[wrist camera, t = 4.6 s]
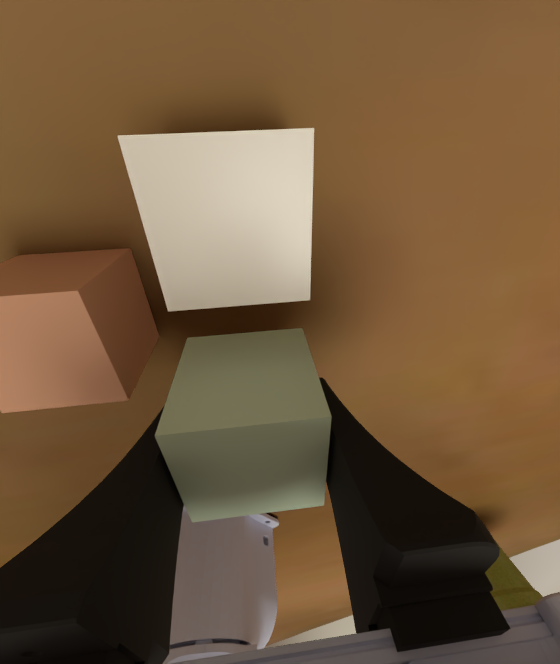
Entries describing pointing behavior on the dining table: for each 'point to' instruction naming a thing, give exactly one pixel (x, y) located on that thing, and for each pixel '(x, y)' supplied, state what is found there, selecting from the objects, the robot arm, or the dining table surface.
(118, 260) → the terracotta block
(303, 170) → the offwhite block
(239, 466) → the sage block
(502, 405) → the dining table surface
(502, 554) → the plant pot
